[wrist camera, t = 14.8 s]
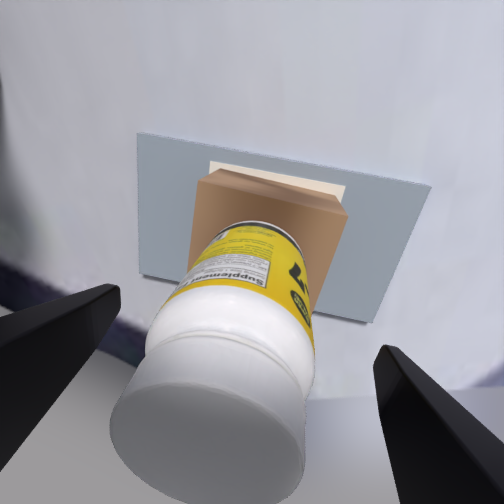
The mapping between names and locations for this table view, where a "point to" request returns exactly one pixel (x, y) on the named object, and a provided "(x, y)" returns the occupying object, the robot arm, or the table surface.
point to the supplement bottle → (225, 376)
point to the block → (270, 217)
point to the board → (289, 172)
